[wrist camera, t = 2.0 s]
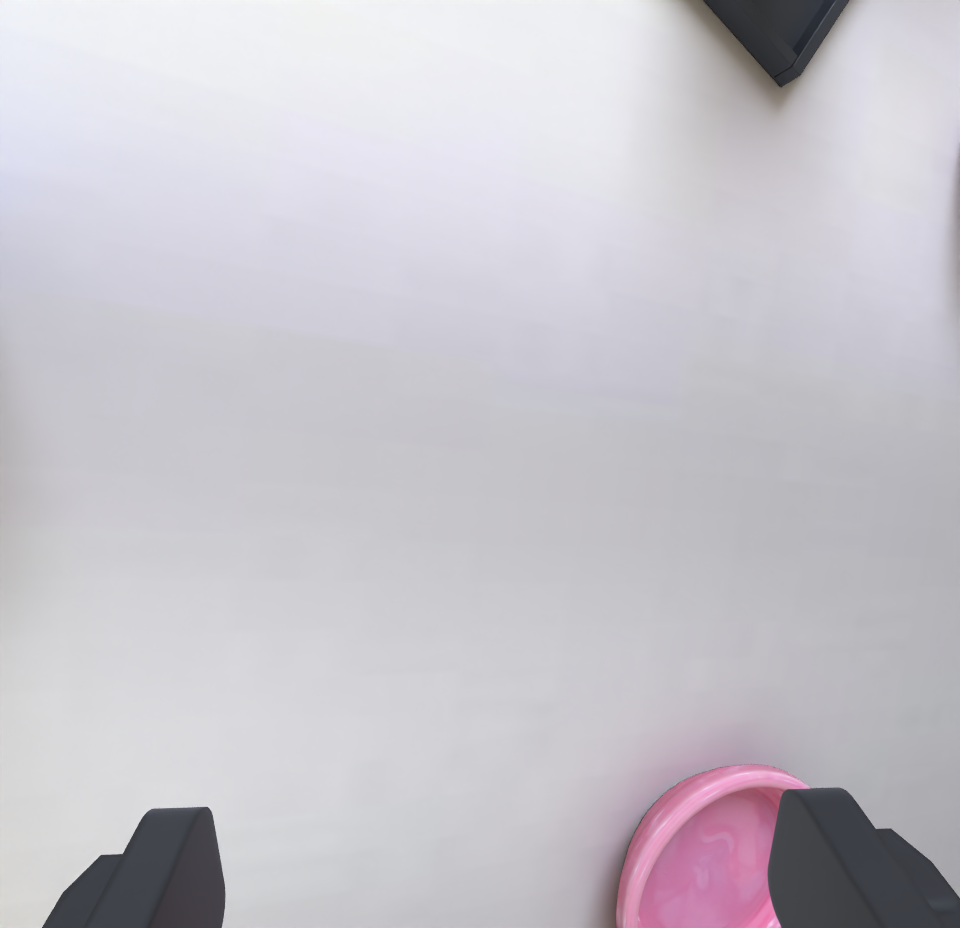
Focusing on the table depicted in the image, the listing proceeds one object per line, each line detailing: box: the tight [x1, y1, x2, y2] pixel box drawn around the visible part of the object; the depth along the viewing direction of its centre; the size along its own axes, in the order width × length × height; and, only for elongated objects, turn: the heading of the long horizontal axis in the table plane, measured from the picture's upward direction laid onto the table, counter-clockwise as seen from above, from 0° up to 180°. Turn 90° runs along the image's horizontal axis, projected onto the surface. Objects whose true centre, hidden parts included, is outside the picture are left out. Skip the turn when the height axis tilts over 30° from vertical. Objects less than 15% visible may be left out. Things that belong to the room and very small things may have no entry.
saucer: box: [616, 765, 810, 928], centre depth 33 cm, size 12×12×3 cm
